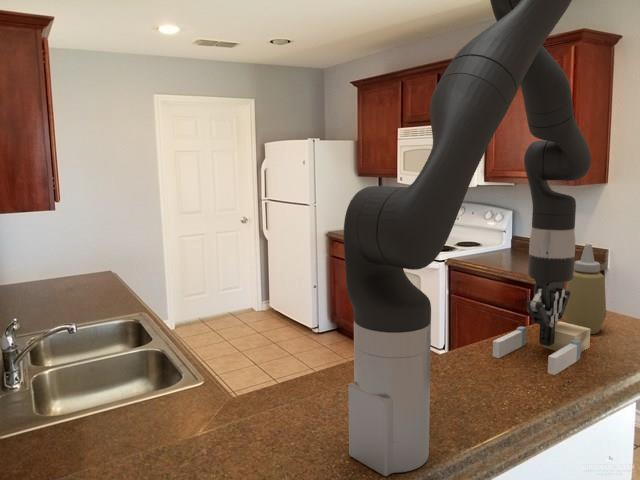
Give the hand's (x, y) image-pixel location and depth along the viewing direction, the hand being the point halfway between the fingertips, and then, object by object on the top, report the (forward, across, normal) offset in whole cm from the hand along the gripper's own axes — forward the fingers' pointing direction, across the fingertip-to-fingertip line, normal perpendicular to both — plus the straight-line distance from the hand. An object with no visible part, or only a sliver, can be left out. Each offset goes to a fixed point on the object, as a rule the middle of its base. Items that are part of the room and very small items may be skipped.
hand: (546, 344), depth 97 cm
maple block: (+2, +5, -2) cm, 5 cm away
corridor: (+2, -4, 0) cm, 4 cm away
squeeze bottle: (+2, +17, 0) cm, 17 cm away
